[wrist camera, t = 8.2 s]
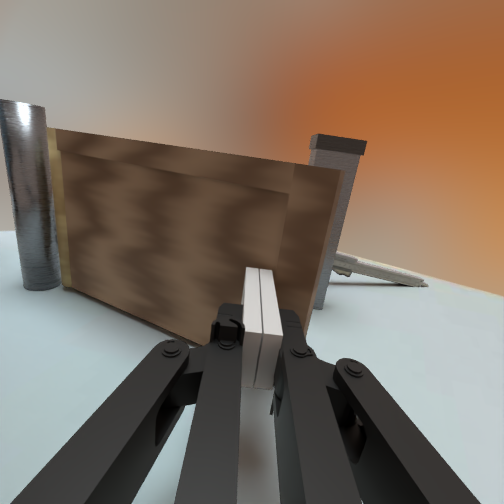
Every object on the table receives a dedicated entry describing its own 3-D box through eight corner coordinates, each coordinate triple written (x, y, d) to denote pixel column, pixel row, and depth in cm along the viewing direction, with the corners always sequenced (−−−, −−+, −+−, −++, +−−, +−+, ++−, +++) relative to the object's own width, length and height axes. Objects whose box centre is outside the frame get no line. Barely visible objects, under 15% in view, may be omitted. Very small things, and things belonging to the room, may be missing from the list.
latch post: (284, 305, 30) (318, 133, 24) (281, 293, 32) (311, 135, 27) (324, 310, 30) (367, 141, 24) (318, 298, 32) (355, 142, 27)
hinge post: (15, 288, 26) (-16, 96, 21) (38, 275, 29) (17, 104, 23) (48, 292, 26) (26, 103, 21) (68, 278, 29) (53, 109, 24)
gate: (56, 283, 27) (40, 126, 22) (76, 276, 28) (65, 130, 24) (290, 387, 18) (341, 170, 14) (298, 368, 20) (345, 170, 16)
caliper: (300, 287, 35) (310, 239, 33) (297, 283, 36) (306, 237, 34) (427, 288, 41) (443, 248, 39) (421, 285, 42) (436, 245, 40)
